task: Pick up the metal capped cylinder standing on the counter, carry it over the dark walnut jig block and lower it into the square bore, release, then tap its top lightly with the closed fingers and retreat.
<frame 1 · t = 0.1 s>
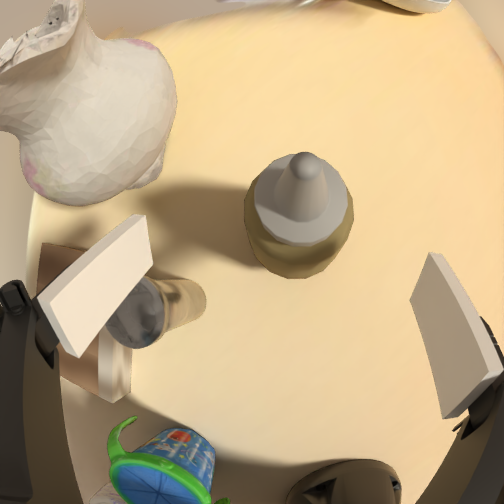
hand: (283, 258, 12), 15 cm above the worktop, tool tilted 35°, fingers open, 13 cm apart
jig: (84, 314, 30), on the worktop
squeeze bottle: (294, 238, 27), on the worktop
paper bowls: (154, 503, 26), on the worktop
snack cup: (188, 448, 26), on the worktop
ceramic pitcher: (122, 148, 31), on the worktop
metal capped cylinder: (186, 300, 28), on the worktop
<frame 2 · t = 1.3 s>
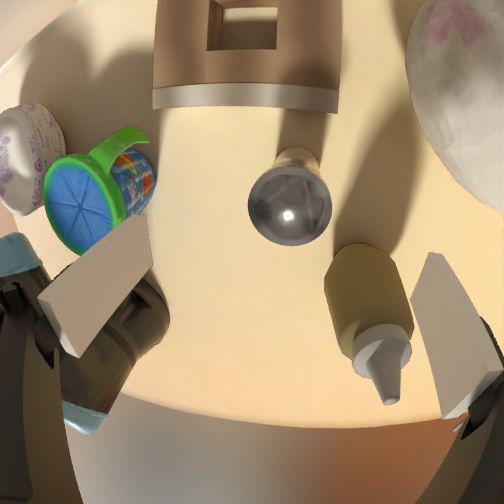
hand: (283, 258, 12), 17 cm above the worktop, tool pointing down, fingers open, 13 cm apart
jig: (251, 31, 19), on the worktop
squeeze bottle: (356, 264, 30), on the worktop
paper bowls: (48, 148, 30), on the worktop
snack cup: (132, 177, 30), on the worktop
ceramic pitcher: (463, 82, 17), on the worktop
metal capped cylinder: (296, 168, 26), on the worktop
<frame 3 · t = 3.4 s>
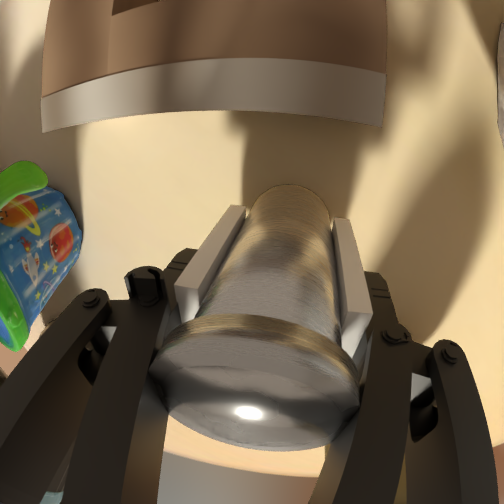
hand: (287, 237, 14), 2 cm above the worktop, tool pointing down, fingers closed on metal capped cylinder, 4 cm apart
squeeze bottle: (373, 353, 19), on the worktop
snack cup: (57, 222, 19), on the worktop
metal capped cylinder: (289, 223, 15), on the worktop, touching gripper
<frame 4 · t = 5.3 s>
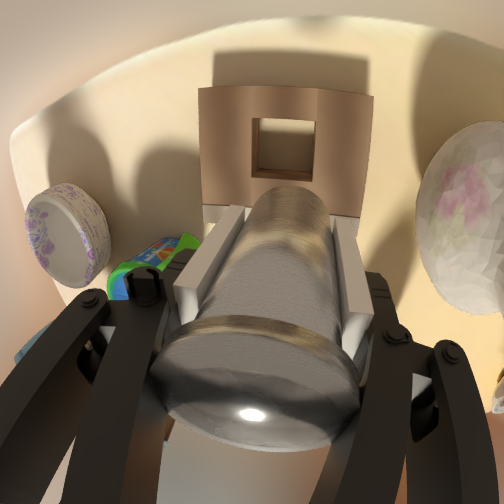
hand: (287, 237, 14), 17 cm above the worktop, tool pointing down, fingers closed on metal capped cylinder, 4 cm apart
jig: (285, 144, 27), on the worktop
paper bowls: (87, 221, 38), on the worktop
snack cup: (177, 259, 38), on the worktop
ceramic pitcher: (463, 182, 24), on the worktop
metal capped cylinder: (290, 223, 15), point 15 cm above the worktop, touching gripper
when the fingers open (5 cm above the worktop, at t = 7.5 s): metal capped cylinder drops 2 cm, resting in jig.
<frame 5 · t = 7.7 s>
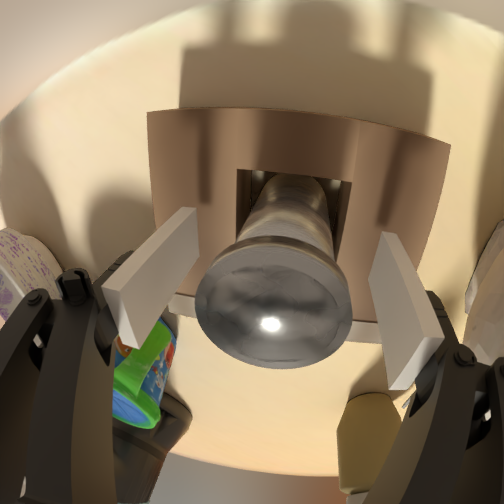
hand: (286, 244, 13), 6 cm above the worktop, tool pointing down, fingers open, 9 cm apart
jig: (293, 201, 18), on the worktop
squeeze bottle: (368, 401, 29), on the worktop
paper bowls: (45, 267, 28), on the worktop
snack cup: (148, 327, 28), on the worktop
metal capped cylinder: (293, 202, 18), resting in jig
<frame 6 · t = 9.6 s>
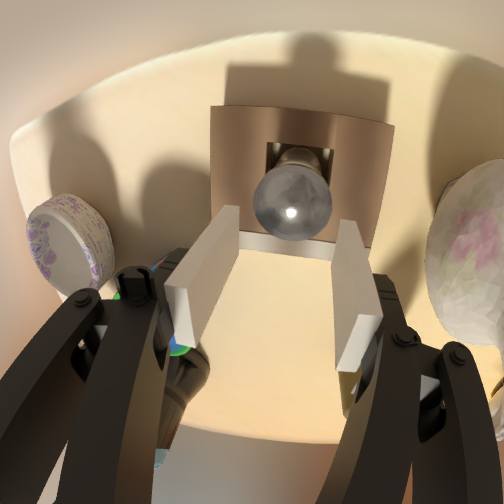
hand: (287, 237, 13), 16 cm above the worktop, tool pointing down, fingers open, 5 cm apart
jig: (299, 167, 27), on the worktop
squeeze bottle: (363, 342, 37), on the worktop
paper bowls: (90, 231, 37), on the worktop
snack cup: (183, 274, 37), on the worktop
ceramic pitcher: (473, 210, 24), on the worktop
metal capped cylinder: (298, 168, 27), resting in jig
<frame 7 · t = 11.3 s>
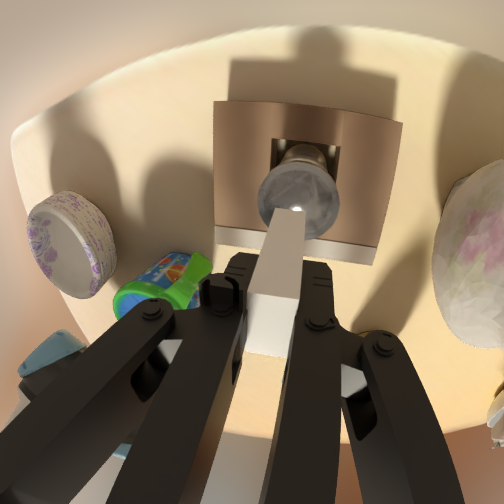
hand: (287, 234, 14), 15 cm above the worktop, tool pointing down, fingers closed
jig: (304, 164, 26), on the worktop
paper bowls: (91, 228, 37), on the worktop
snack cup: (185, 273, 37), on the worktop
ceramic pitcher: (480, 210, 23), on the worktop
metal capped cylinder: (304, 165, 26), resting in jig
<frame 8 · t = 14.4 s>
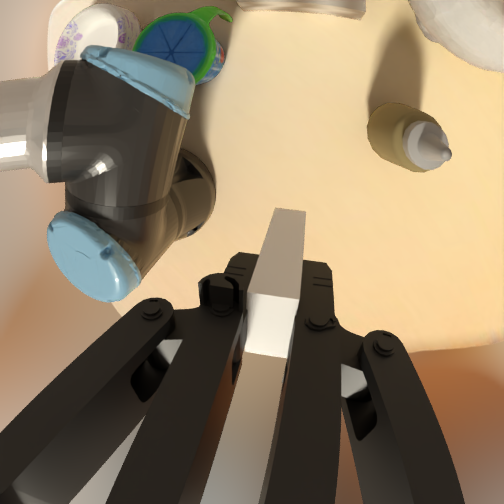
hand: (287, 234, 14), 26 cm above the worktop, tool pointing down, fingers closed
squeeze bottle: (388, 130, 32), on the worktop
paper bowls: (115, 49, 32), on the worktop
snack cup: (201, 61, 32), on the worktop
ceramic pitcher: (446, 11, 19), on the worktop
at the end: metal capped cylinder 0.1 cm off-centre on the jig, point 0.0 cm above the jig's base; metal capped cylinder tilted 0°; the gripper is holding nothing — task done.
